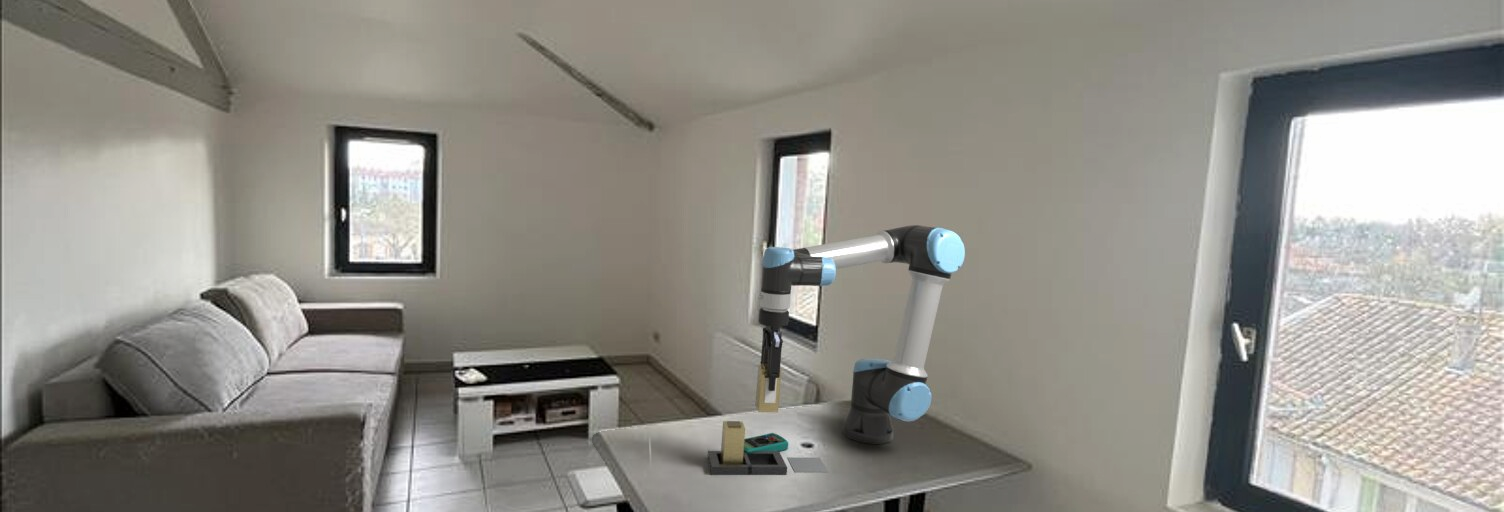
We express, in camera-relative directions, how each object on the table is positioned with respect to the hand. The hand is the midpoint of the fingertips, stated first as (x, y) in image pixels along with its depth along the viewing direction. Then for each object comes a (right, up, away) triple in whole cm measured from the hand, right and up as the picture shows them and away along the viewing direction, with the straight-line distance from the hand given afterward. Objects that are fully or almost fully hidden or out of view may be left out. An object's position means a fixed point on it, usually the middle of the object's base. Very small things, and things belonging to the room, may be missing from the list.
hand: (767, 398), depth 173 cm
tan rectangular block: (0, -3, 0) cm, 3 cm away
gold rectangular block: (-9, -17, +1) cm, 20 cm away
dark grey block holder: (-5, -18, +1) cm, 19 cm away
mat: (+11, -19, +5) cm, 22 cm away
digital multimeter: (-2, -17, +12) cm, 21 cm away
